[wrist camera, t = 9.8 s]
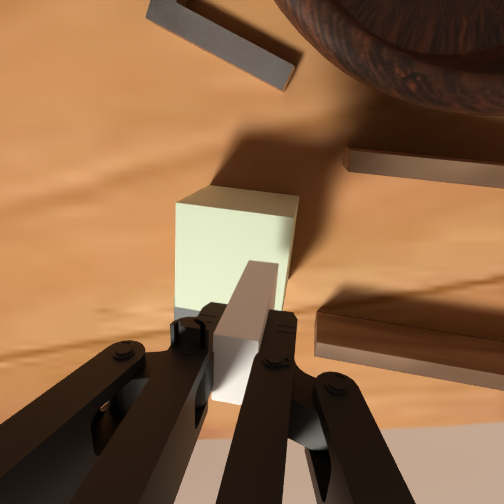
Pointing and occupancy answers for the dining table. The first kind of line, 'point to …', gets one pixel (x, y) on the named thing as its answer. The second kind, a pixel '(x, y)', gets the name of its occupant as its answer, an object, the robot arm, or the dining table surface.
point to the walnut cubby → (404, 337)
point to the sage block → (230, 242)
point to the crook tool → (220, 42)
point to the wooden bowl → (413, 48)
